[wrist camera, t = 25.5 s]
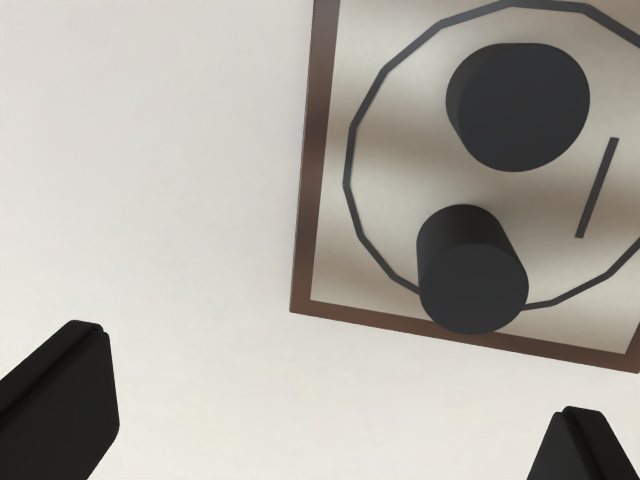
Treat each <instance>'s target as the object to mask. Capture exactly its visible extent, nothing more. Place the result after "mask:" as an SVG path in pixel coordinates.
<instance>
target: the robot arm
mask: <svg viewBox="0 0 640 480" xmlns="http://www.w3.org/2000/svg"><path fill="white" fill-rule="evenodd" d="M119 426H120V422H119V413H118V405H117V397H116V388H115V380H114V372H113V364H112V355H111V347H110V339H109V335H108V334H107V333H106V332H104V331H103V328H102V326H101V325H99V324H96V323H90V322H84V321H79V320H71V321H69V322H68V323H66V324H65V325H64V326H63V327H62V328H60V329H59V330H58V331H57V332H56V333H55V334H53V335H52V336H51V337H50V338H49V339H48V340H47V341H45V342H44V343H43V344H42V345H41V346H40V347H38V348H37V349H36V350H35V351H34V352H33V353H31V354H30V355H29V356H28V357H27V358H26V359H24V360H23V361H22V362H21V363H20V364H19V365H18V366H16V367H15V368H14V369H13V370H12V371H11V372H9V373H8V374H7V375H6V376H5V377H4V378H2V379H1V380H0V480H87V479H88V478H89V476H90V475H91V473H92V472H93V470H94V469H95V468H96V466H97V465H98V463H99V462H100V460H101V459H102V458H103V456H104V455H105V453H106V452H107V450H108V449H109V448H110V446H111V445H112V443H113V442H114V440H115V439H116V436H117V434H118V431H119ZM527 480H640V479H639V477H638V475H637V473H636V471H635V470H634V468H633V466H632V464H631V463H630V461H629V459H628V457H627V455H626V454H625V452H624V450H623V448H622V446H621V445H620V443H619V441H618V439H617V438H616V436H615V434H614V432H613V430H612V429H611V427H610V425H609V423H608V422H607V420H606V418H605V417H604V415H603V414H602V413H601V412H599V411H595V410H589V409H584V408H578V407H572V406H567V407H565V408H564V409H563V411H562V412H555V413H554V415H553V416H552V419H551V421H550V424H549V426H548V429H547V431H546V434H545V436H544V438H543V441H542V443H541V446H540V448H539V451H538V453H537V456H536V458H535V460H534V463H533V465H532V468H531V470H530V473H529V475H528V477H527Z"/></svg>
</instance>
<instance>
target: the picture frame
mask: <svg viewBox="0 0 640 480" xmlns="http://www.w3.org/2000/svg"><path fill="white" fill-rule="evenodd" d="M498 43H541V44H547V45H551V46H554V47H557V48H559V49H561V50H563V51H565V52H566V53H567V54H569V55H570V56H572V57H573V58H574V59H575V60H576V61H577V62H578V64H579V65H580V67H581V68H582V69H583V71H584V73H585V75H586V78H587V81H588V84H589V89H590V107H589V113H588V117H587V120H586V122H585V125H584V127H583V129H582V131H581V133H580V135H579V136H578V138H577V139H576V140H575V142H574V143H573V144H572V145H571V146H570V147H569V149H568V150H566V151H565V152H564V153H563V154H562V155H561V156H559V157H558V158H556V159H555V160H554V161H552V162H550V163H548V164H546V165H544V166H542V167H539V168H537V169H533V170H530V171H524V172H503V171H498V170H495V169H492V168H489V167H487V166H485V165H483V164H482V163H480V162H479V161H477V160H476V159H475V158H474V157H473V156H472V155H471V154H470V153H469V152H468V151H467V150H466V148H465V146H464V145H463V143H462V141H461V140H460V138H459V136H458V135H457V133H456V131H455V129H454V128H453V126H452V124H451V123H450V120H449V118H448V115H447V111H446V104H445V102H446V91H447V87H448V84H449V81H450V79H451V77H452V75H453V73H454V71H455V70H456V69H457V67H458V66H459V65H460V64H461V62H462V61H463V60H464V59H466V58H467V57H468V56H469V55H471V54H472V53H473V52H475V51H477V50H479V49H481V48H483V47H486V46H488V45H493V44H498ZM458 204H467V205H473V206H477V207H480V208H483V209H485V210H487V211H488V212H490V213H491V214H492V215H493V216H495V217H496V219H497V220H498V221H499V222H500V224H501V226H502V227H503V229H504V231H505V233H506V235H507V237H508V239H509V241H510V242H511V244H512V246H513V248H514V250H515V252H516V254H517V255H518V257H519V259H520V261H521V263H522V265H523V267H524V269H525V271H526V273H527V276H528V280H529V294H528V298H527V301H526V303H525V306H524V307H523V309H522V311H521V312H520V313H519V315H518V316H517V317H516V318H515V319H514V320H513V321H512V322H510V323H509V324H508V325H506V326H504V327H503V328H501V329H498V330H496V331H493V332H490V333H486V334H481V335H464V334H458V333H454V332H451V331H449V330H447V329H444V328H442V327H441V326H439V325H438V324H437V323H435V322H434V321H433V320H432V319H431V318H430V317H429V316H428V315H427V313H426V312H425V310H424V308H423V306H422V304H421V301H420V297H419V286H418V270H417V253H416V241H417V236H418V233H419V230H420V228H421V227H422V225H423V223H424V222H425V221H426V220H427V219H428V218H429V217H430V216H431V215H432V214H434V213H435V212H437V211H439V210H440V209H443V208H445V207H448V206H452V205H458ZM289 311H290V312H291V313H297V314H303V315H308V316H314V317H320V318H325V319H331V320H337V321H342V322H348V323H353V324H359V325H365V326H370V327H376V328H382V329H387V330H393V331H398V332H404V333H410V334H415V335H421V336H427V337H432V338H438V339H444V340H449V341H455V342H460V343H466V344H472V345H477V346H483V347H489V348H494V349H500V350H506V351H511V352H517V353H522V354H528V355H534V356H539V357H545V358H551V359H556V360H562V361H568V362H573V363H579V364H584V365H590V366H596V367H601V368H607V369H613V370H618V371H624V372H629V373H635V374H638V373H639V372H640V0H314V5H313V18H312V30H311V43H310V55H309V68H308V81H307V93H306V106H305V118H304V131H303V143H302V156H301V169H300V181H299V194H298V206H297V219H296V232H295V244H294V257H293V269H292V282H291V295H290V307H289Z"/></svg>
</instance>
